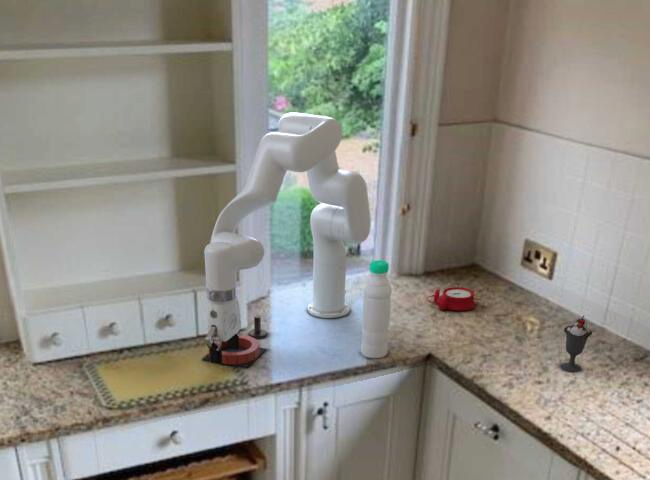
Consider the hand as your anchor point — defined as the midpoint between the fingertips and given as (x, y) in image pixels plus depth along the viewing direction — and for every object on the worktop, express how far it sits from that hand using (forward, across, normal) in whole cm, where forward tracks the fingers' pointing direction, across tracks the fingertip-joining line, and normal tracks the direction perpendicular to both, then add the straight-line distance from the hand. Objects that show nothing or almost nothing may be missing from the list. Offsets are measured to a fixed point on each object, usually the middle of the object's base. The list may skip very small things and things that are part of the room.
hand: (224, 355), depth 208 cm
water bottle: (+2, +21, -34) cm, 40 cm away
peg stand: (+2, +20, 0) cm, 20 cm away
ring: (+2, +5, 0) cm, 6 cm away
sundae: (+2, +32, -83) cm, 89 cm away
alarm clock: (+3, +63, -45) cm, 77 cm away
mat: (+2, +6, 0) cm, 6 cm away
